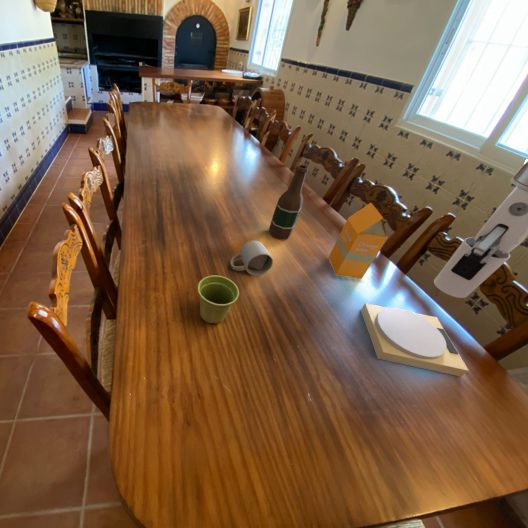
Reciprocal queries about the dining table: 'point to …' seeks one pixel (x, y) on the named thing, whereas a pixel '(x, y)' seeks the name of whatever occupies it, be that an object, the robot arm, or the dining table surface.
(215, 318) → the plant pot
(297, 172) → the beer bottle
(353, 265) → the orange juice
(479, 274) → the white cup
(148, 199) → the dining table surface
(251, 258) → the ceramic mug
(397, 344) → the scale
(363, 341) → the dining table surface
